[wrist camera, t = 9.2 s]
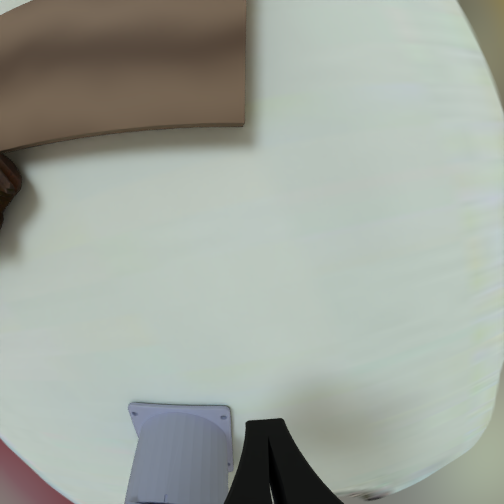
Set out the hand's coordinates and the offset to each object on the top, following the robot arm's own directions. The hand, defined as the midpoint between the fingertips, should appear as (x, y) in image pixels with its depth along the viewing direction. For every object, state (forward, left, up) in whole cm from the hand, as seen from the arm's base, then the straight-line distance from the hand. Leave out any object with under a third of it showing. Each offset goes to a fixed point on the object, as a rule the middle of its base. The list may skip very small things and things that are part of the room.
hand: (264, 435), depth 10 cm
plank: (+16, +15, -9) cm, 24 cm away
